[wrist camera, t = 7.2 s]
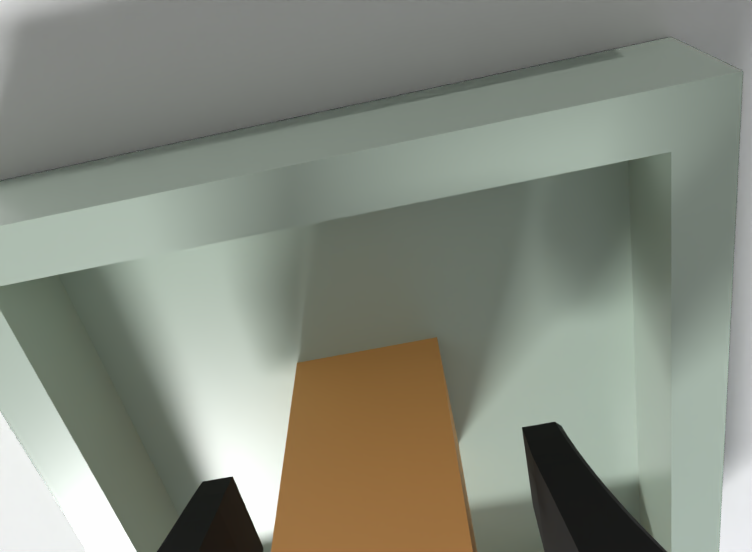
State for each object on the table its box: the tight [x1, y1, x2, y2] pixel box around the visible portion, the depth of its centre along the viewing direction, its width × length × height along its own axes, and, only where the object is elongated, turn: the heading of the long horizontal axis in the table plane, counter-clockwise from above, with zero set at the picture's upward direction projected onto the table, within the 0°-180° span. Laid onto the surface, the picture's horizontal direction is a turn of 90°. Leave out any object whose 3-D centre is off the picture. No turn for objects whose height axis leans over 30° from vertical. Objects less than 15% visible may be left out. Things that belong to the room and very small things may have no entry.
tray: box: [0, 37, 743, 552], centre depth 15 cm, size 13×13×3 cm
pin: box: [271, 337, 477, 552], centre depth 13 cm, size 3×3×6 cm
